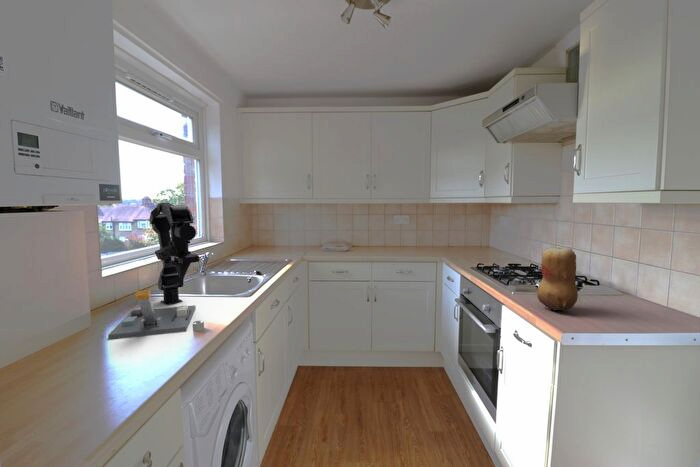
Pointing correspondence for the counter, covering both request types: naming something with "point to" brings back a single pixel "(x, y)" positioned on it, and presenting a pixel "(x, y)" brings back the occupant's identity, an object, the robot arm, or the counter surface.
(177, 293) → the robot arm
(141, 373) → the counter surface
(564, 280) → the butternut squash
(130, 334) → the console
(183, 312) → the slider
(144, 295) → the lever
